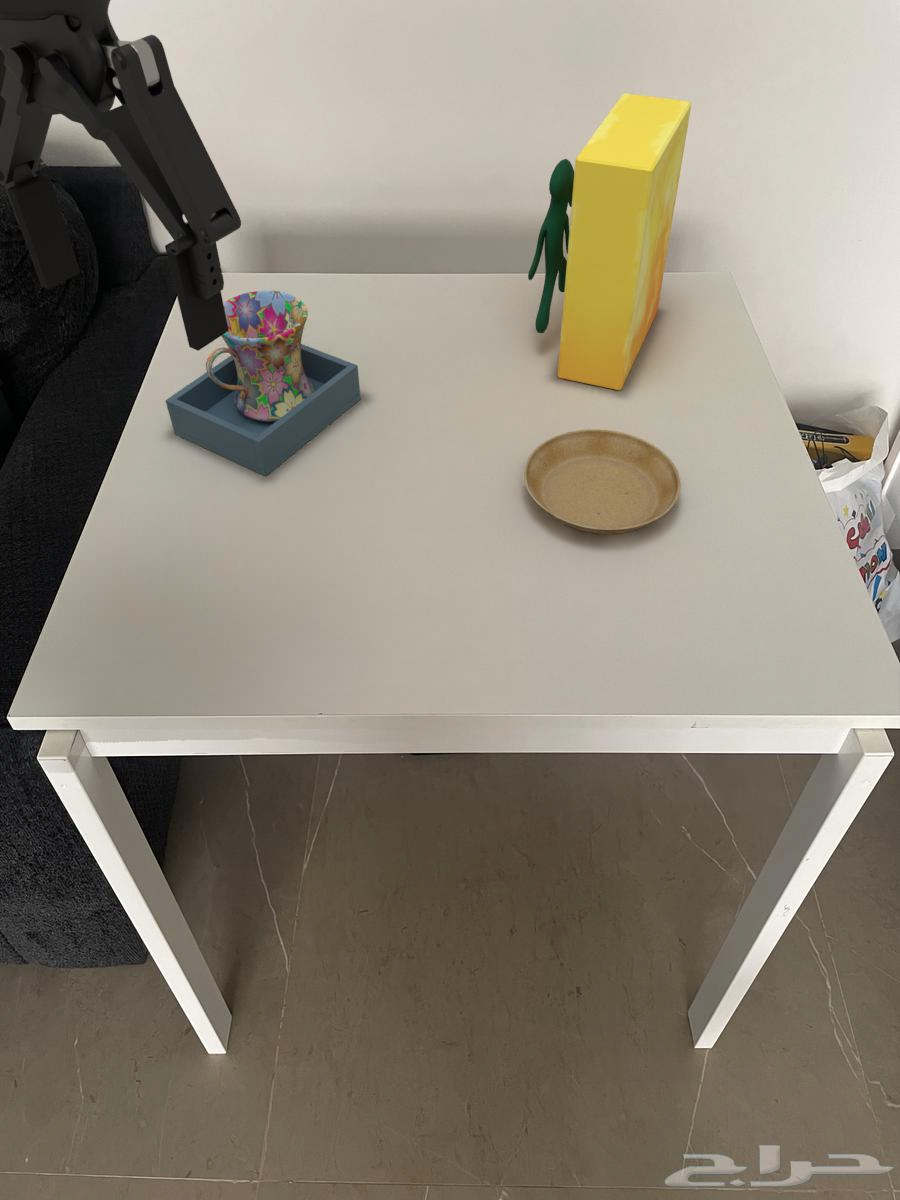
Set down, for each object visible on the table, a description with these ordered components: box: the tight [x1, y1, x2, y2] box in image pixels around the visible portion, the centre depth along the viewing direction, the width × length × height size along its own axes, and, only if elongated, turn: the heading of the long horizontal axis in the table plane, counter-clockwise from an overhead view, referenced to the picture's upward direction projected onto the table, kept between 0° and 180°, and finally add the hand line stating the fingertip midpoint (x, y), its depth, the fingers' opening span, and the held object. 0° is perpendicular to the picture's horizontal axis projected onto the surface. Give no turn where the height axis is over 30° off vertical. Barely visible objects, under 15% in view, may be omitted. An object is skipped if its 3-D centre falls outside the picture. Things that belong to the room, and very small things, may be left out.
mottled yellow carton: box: [527, 92, 692, 391], centre depth 101 cm, size 18×12×24 cm
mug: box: [205, 290, 315, 422], centre depth 96 cm, size 12×9×11 cm
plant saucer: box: [523, 428, 682, 535], centre depth 90 cm, size 15×15×3 cm
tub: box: [165, 343, 361, 477], centre depth 99 cm, size 13×16×4 cm
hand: (132, 308), depth 61 cm, fingers open, 13 cm apart
